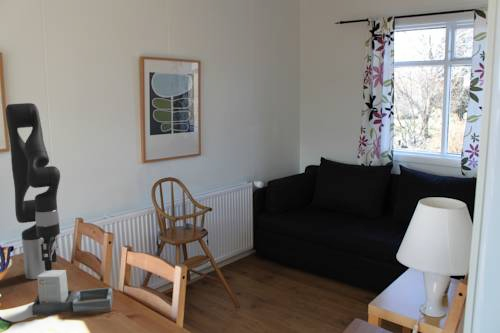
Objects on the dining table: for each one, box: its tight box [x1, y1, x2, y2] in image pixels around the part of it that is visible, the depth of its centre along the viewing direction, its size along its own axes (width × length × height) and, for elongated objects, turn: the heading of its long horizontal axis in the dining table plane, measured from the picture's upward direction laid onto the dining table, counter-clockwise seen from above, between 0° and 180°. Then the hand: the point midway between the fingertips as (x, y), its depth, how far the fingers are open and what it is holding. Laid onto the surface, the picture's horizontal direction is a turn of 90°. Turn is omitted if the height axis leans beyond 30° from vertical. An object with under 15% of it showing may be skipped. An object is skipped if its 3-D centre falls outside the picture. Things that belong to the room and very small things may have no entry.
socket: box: [31, 289, 76, 316], centre depth 163 cm, size 11×12×4 cm
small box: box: [36, 269, 69, 304], centre depth 162 cm, size 8×6×13 cm
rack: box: [72, 286, 114, 317], centre depth 163 cm, size 12×13×4 cm
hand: (51, 266), depth 161 cm, fingers open, 8 cm apart
